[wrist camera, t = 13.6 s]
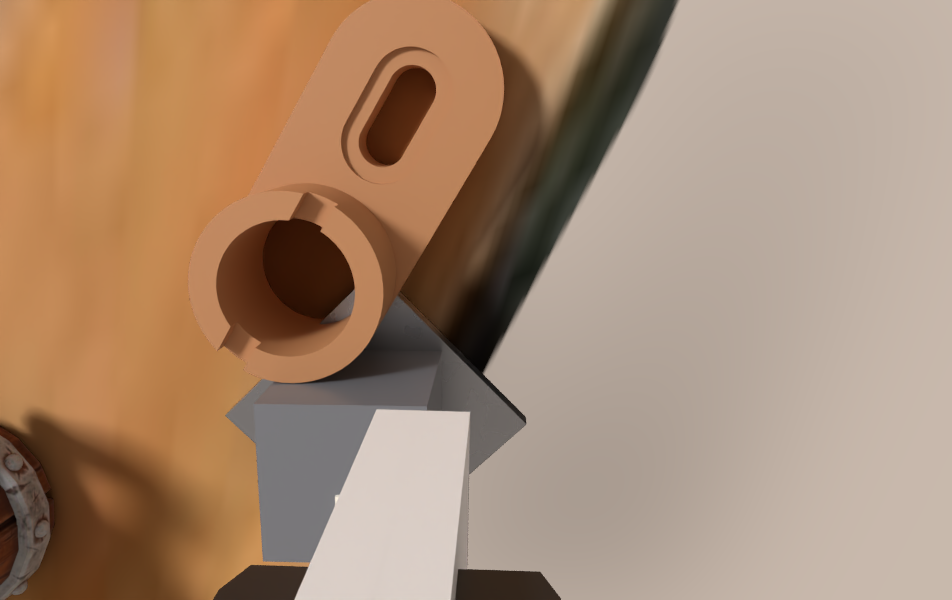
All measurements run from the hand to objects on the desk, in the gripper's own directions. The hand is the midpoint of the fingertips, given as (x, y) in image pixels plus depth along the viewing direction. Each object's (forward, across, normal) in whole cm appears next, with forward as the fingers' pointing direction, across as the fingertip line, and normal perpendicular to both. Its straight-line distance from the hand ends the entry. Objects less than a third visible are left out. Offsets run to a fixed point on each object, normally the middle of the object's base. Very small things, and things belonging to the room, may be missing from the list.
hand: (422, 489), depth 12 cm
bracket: (+27, -5, +3) cm, 28 cm away
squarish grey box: (+25, -5, -9) cm, 27 cm away
